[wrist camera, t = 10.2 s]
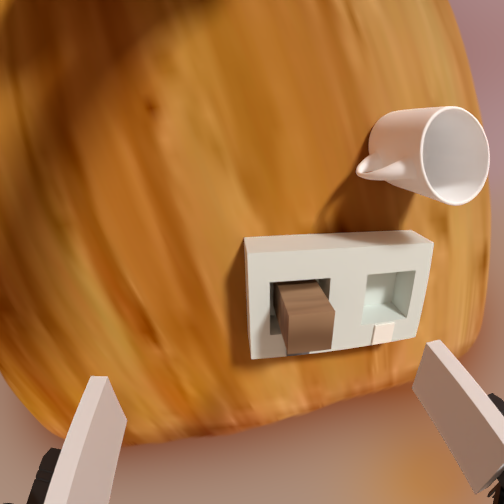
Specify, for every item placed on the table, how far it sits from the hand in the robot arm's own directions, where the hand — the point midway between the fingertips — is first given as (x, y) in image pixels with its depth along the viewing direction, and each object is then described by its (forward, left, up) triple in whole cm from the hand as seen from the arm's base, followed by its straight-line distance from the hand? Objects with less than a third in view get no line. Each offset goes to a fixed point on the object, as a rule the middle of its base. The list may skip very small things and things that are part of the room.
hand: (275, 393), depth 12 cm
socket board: (+7, +10, -23) cm, 26 cm away
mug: (-8, +16, -24) cm, 30 cm away
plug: (+6, +5, -22) cm, 24 cm away
